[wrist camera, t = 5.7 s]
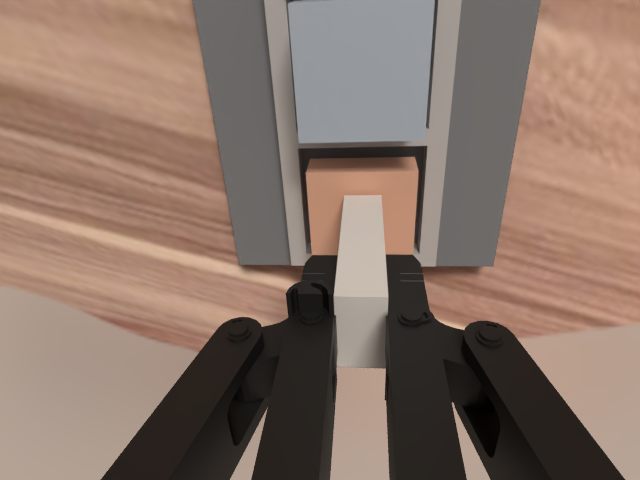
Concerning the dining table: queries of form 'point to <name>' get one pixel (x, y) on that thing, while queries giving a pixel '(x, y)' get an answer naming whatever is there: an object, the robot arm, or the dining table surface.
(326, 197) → the key terracotta
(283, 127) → the keypad
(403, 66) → the key blue
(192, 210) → the dining table surface
